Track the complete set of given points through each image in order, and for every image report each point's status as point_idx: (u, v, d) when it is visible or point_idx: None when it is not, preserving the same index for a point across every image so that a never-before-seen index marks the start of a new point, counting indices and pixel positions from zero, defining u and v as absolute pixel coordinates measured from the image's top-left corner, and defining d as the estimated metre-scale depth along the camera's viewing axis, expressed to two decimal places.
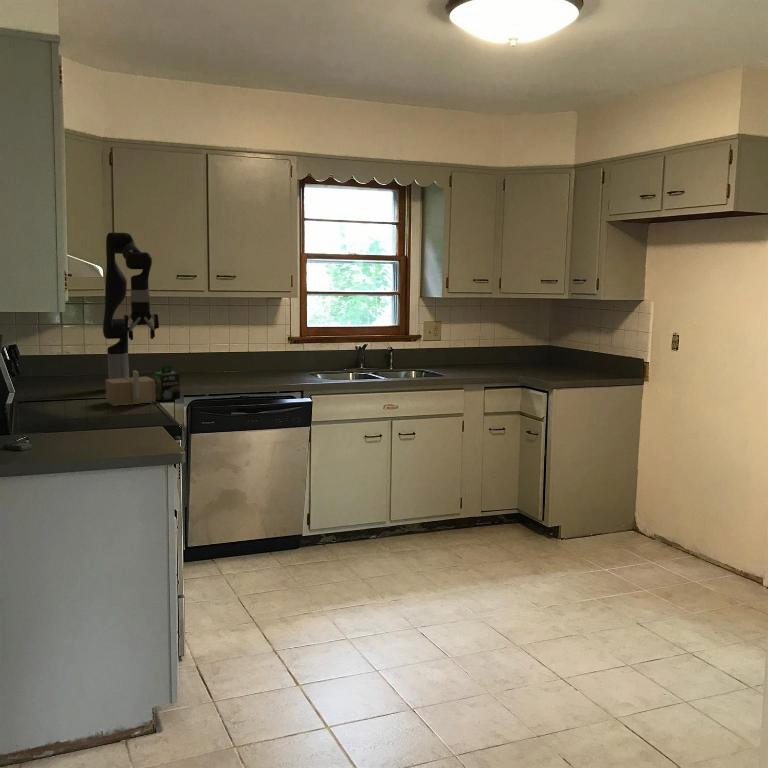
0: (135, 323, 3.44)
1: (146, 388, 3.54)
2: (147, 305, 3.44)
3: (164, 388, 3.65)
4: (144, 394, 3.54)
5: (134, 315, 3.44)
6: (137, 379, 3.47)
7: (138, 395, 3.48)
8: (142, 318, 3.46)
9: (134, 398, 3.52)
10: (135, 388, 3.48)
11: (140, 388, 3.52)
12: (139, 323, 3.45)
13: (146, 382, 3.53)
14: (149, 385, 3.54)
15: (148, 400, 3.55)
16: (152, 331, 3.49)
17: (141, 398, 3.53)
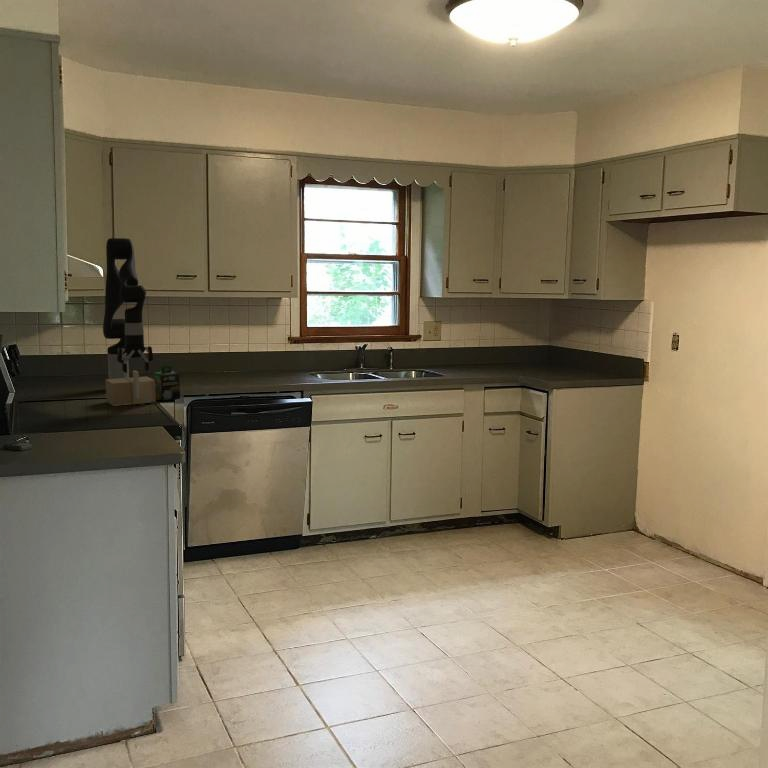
0: (129, 356, 3.44)
1: (146, 388, 3.54)
2: (141, 338, 3.44)
3: (164, 388, 3.65)
4: (144, 394, 3.54)
5: (128, 348, 3.44)
6: (137, 379, 3.47)
7: (138, 395, 3.48)
8: (136, 351, 3.46)
9: (134, 398, 3.52)
10: (135, 388, 3.48)
11: (140, 388, 3.52)
12: (133, 356, 3.46)
13: (146, 382, 3.53)
14: (149, 385, 3.54)
15: (148, 400, 3.55)
16: (146, 364, 3.49)
17: (141, 398, 3.53)
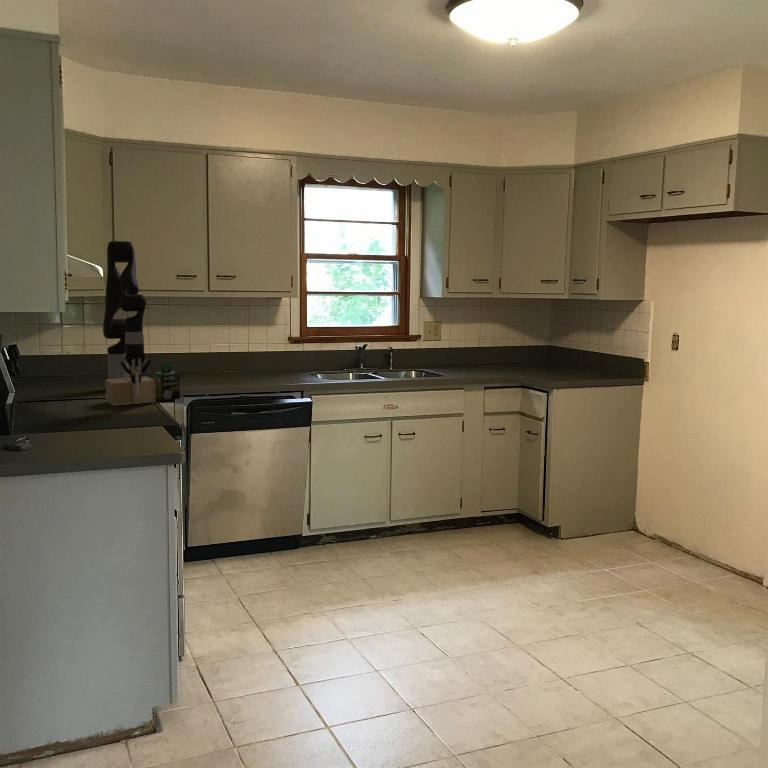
0: (133, 366, 3.45)
1: (146, 388, 3.54)
2: (141, 347, 3.45)
3: (164, 388, 3.65)
4: (144, 394, 3.54)
5: (128, 357, 3.45)
6: (137, 379, 3.47)
7: (138, 395, 3.48)
8: (136, 360, 3.46)
9: (134, 398, 3.52)
10: (135, 388, 3.48)
11: (140, 388, 3.52)
12: None
13: (146, 382, 3.53)
14: (149, 385, 3.54)
15: (148, 400, 3.55)
16: None
17: (141, 398, 3.53)
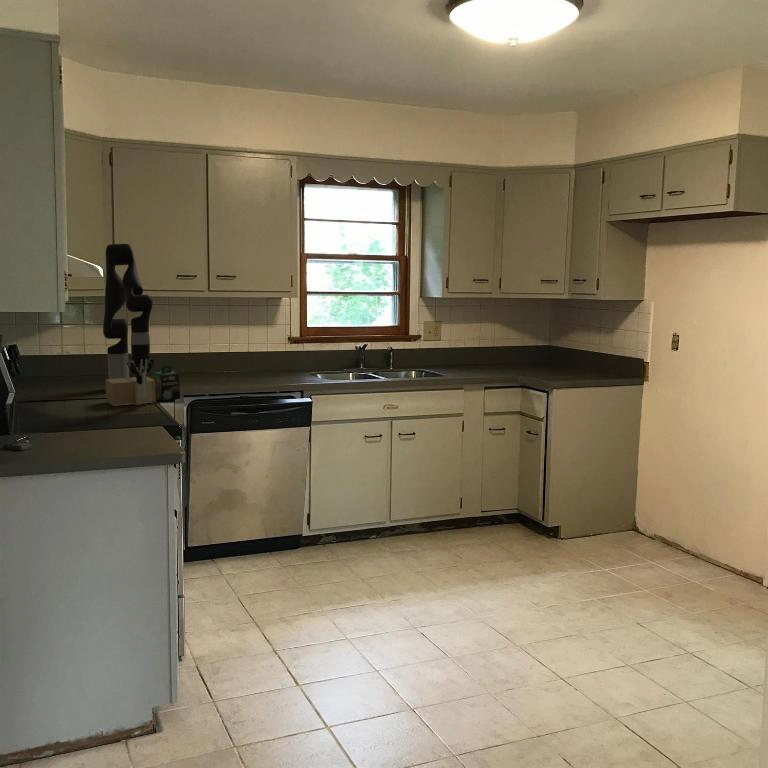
0: (141, 366, 3.44)
1: (147, 388, 3.53)
2: (149, 347, 3.45)
3: (164, 388, 3.65)
4: (146, 394, 3.53)
5: (137, 358, 3.43)
6: (144, 379, 3.46)
7: (145, 395, 3.47)
8: (143, 360, 3.46)
9: (137, 399, 3.50)
10: (141, 389, 3.47)
11: None
12: None
13: (147, 382, 3.53)
14: (150, 385, 3.54)
15: (149, 400, 3.55)
16: None
17: (143, 398, 3.52)
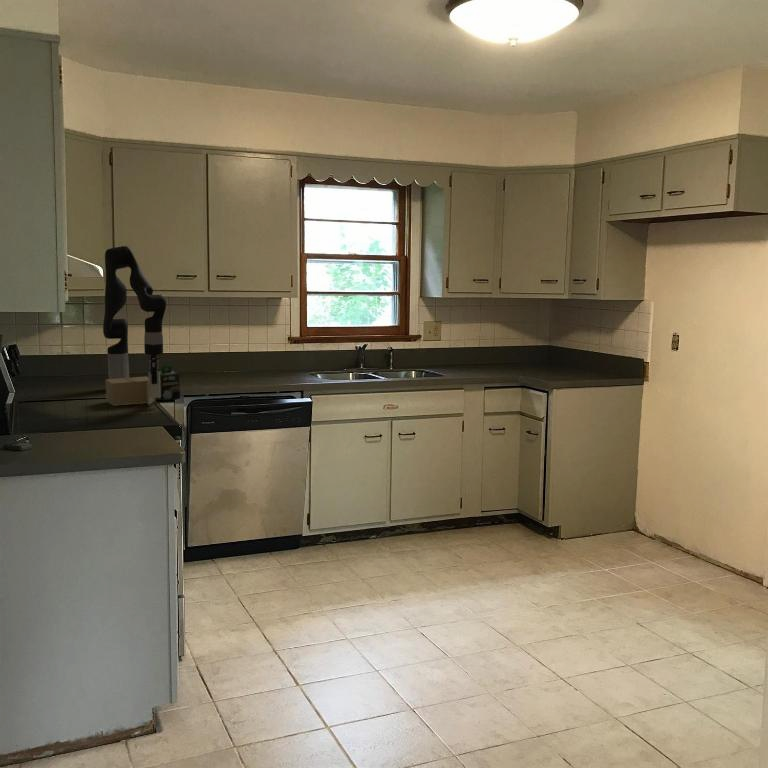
0: None
1: None
2: None
3: (164, 388, 3.65)
4: None
5: (156, 357, 3.44)
6: (159, 379, 3.48)
7: (160, 395, 3.49)
8: None
9: (149, 399, 3.49)
10: (156, 388, 3.48)
11: None
12: (156, 365, 3.46)
13: None
14: None
15: (152, 400, 3.55)
16: None
17: (150, 399, 3.52)
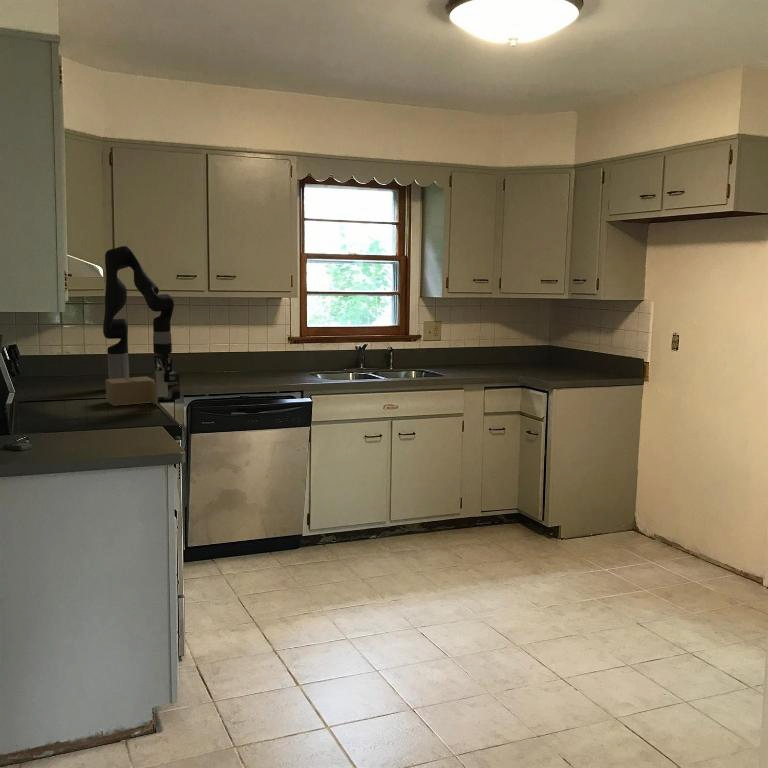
0: None
1: None
2: None
3: None
4: None
5: None
6: None
7: None
8: None
9: None
10: (164, 387, 3.51)
11: None
12: None
13: (153, 382, 3.54)
14: None
15: None
16: None
17: None
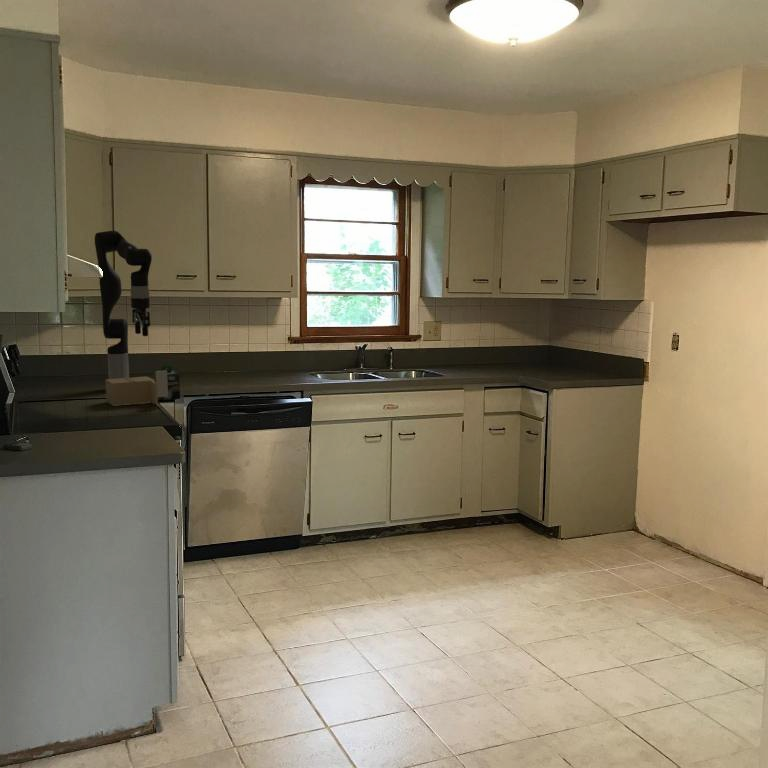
0: None
1: None
2: None
3: None
4: None
5: None
6: None
7: None
8: None
9: None
10: (164, 387, 3.51)
11: None
12: None
13: (153, 382, 3.54)
14: None
15: None
16: None
17: None
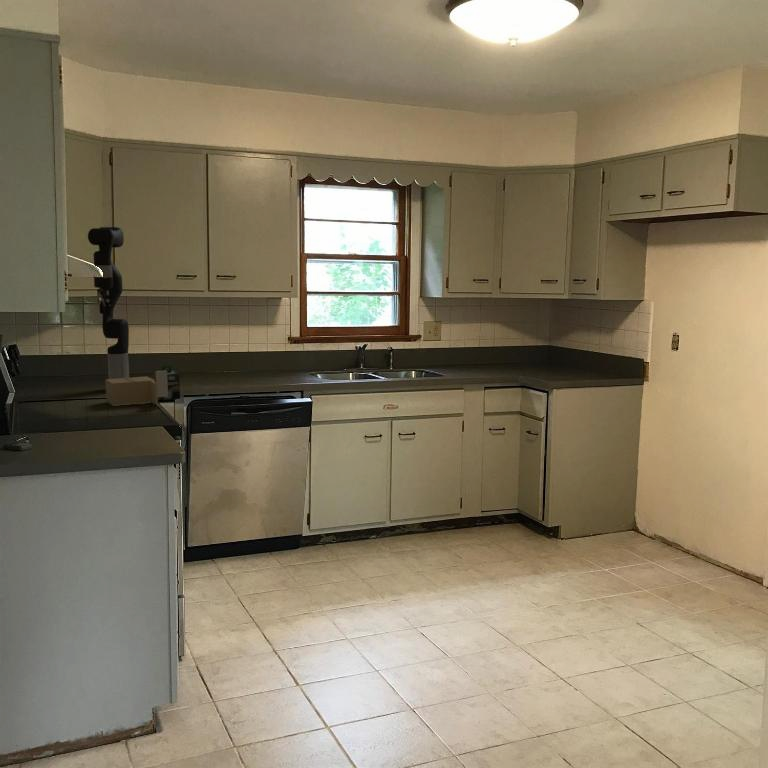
0: None
1: None
2: None
3: None
4: None
5: None
6: None
7: None
8: None
9: None
10: (164, 387, 3.51)
11: None
12: None
13: (153, 382, 3.54)
14: None
15: None
16: None
17: None
